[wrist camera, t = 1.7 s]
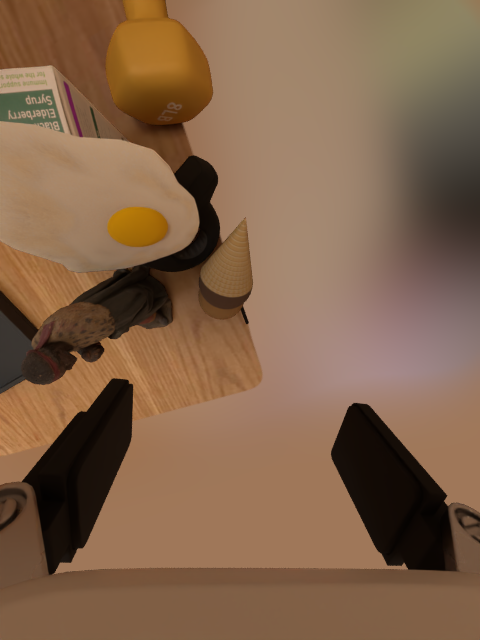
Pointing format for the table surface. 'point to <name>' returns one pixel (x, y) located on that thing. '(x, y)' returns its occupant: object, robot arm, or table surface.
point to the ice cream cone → (227, 277)
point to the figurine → (96, 322)
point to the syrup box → (50, 103)
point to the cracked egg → (89, 200)
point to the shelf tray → (13, 343)
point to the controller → (201, 186)
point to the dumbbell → (156, 66)
